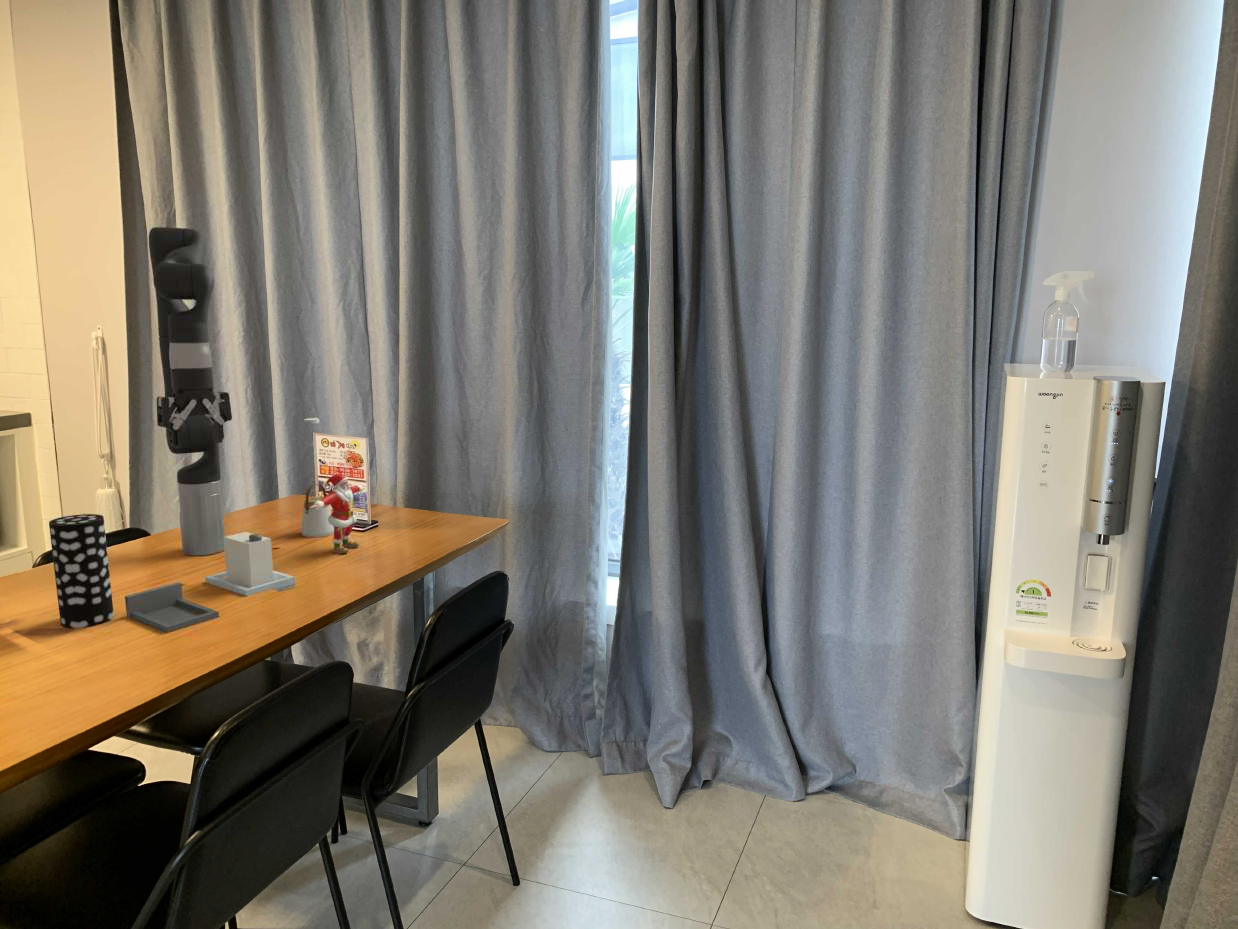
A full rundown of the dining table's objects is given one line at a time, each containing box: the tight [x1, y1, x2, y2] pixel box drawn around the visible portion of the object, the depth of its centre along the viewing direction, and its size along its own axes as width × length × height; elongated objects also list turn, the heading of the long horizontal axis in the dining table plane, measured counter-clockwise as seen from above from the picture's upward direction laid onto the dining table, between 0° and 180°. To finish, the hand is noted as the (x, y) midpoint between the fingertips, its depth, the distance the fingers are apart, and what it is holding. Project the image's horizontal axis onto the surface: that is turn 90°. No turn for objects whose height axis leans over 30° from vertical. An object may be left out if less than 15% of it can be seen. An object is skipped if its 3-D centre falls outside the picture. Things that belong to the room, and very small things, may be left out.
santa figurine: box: [310, 473, 366, 555], centre depth 203 cm, size 25×6×19 cm, turn 169°
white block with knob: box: [224, 531, 274, 588], centre depth 176 cm, size 9×5×11 cm, turn 56°
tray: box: [204, 569, 296, 597], centre depth 177 cm, size 15×11×2 cm
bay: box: [124, 581, 220, 634], centre depth 156 cm, size 14×10×5 cm
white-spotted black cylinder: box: [48, 513, 115, 629], centre depth 153 cm, size 8×8×20 cm
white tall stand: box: [300, 417, 334, 538], centre depth 217 cm, size 8×8×30 cm
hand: (197, 445), depth 171 cm, fingers open, 8 cm apart
